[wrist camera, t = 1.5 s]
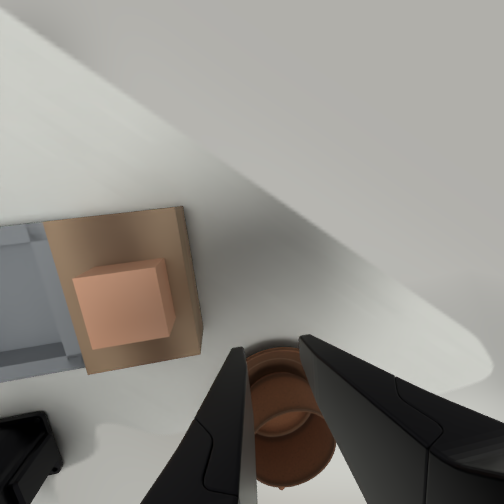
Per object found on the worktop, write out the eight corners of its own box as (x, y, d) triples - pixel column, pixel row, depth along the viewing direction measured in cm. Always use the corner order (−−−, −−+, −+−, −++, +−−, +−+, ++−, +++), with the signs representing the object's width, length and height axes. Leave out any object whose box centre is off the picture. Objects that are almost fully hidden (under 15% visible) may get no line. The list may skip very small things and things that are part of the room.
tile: (110, 328, 17) (92, 349, 14) (94, 267, 16) (71, 278, 13) (175, 317, 17) (169, 336, 15) (164, 257, 16) (155, 267, 14)
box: (-22, 365, 20) (-63, 393, 17) (-76, 234, 18) (-133, 241, 15) (105, 344, 21) (87, 366, 18) (71, 218, 19) (44, 221, 16)
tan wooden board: (111, 343, 21) (87, 374, 17) (78, 217, 19) (42, 221, 15) (203, 327, 22) (200, 354, 18) (182, 206, 20) (174, 207, 16)
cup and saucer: (338, 415, 27) (373, 477, 21) (234, 454, 26) (240, 531, 20) (316, 321, 24) (349, 361, 18) (198, 361, 23) (192, 417, 17)
